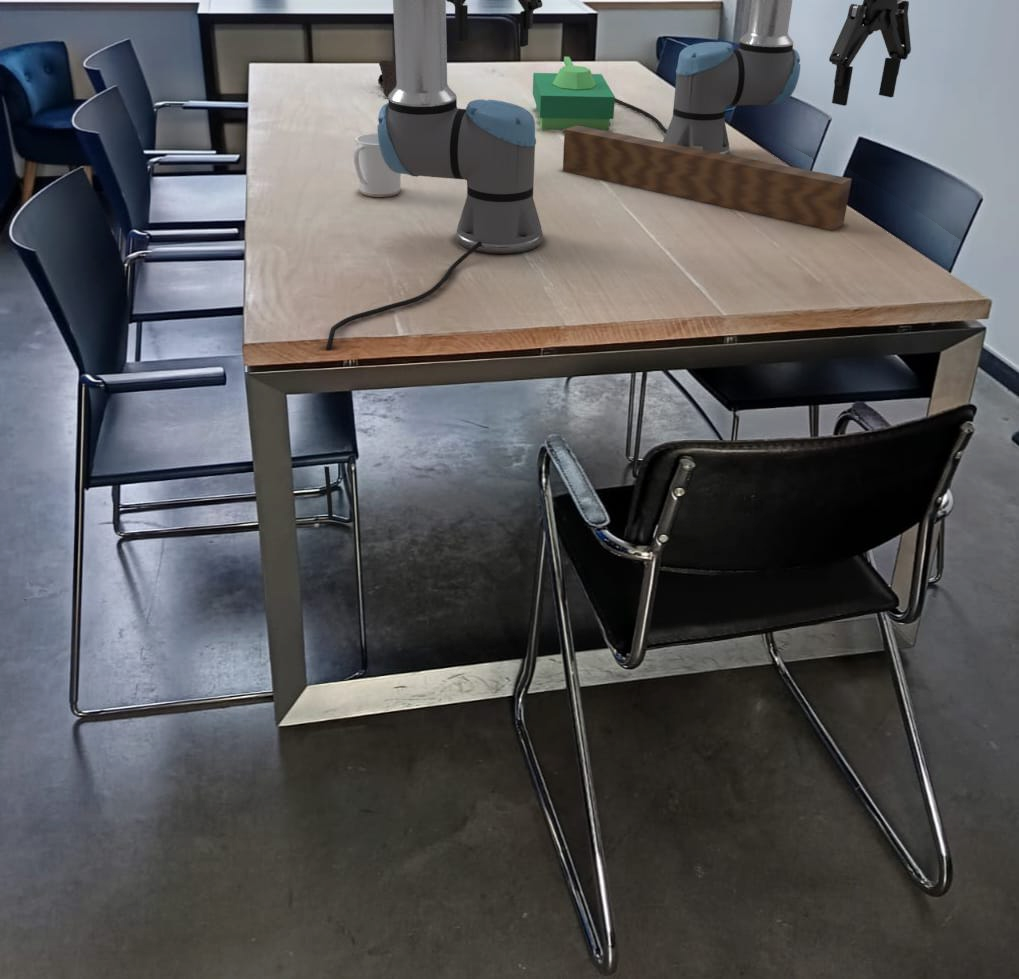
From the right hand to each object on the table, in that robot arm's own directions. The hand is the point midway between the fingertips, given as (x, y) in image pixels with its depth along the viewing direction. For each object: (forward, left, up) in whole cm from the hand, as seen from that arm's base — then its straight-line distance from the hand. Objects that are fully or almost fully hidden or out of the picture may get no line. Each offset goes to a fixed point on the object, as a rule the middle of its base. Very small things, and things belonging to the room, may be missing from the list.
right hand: (862, 100), depth 200 cm
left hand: (-51, -56, +3) cm, 75 cm away
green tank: (-90, -24, -22) cm, 96 cm away
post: (-20, -22, -22) cm, 37 cm away
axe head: (-128, -59, -22) cm, 143 cm away
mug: (-36, -84, -22) cm, 94 cm away
